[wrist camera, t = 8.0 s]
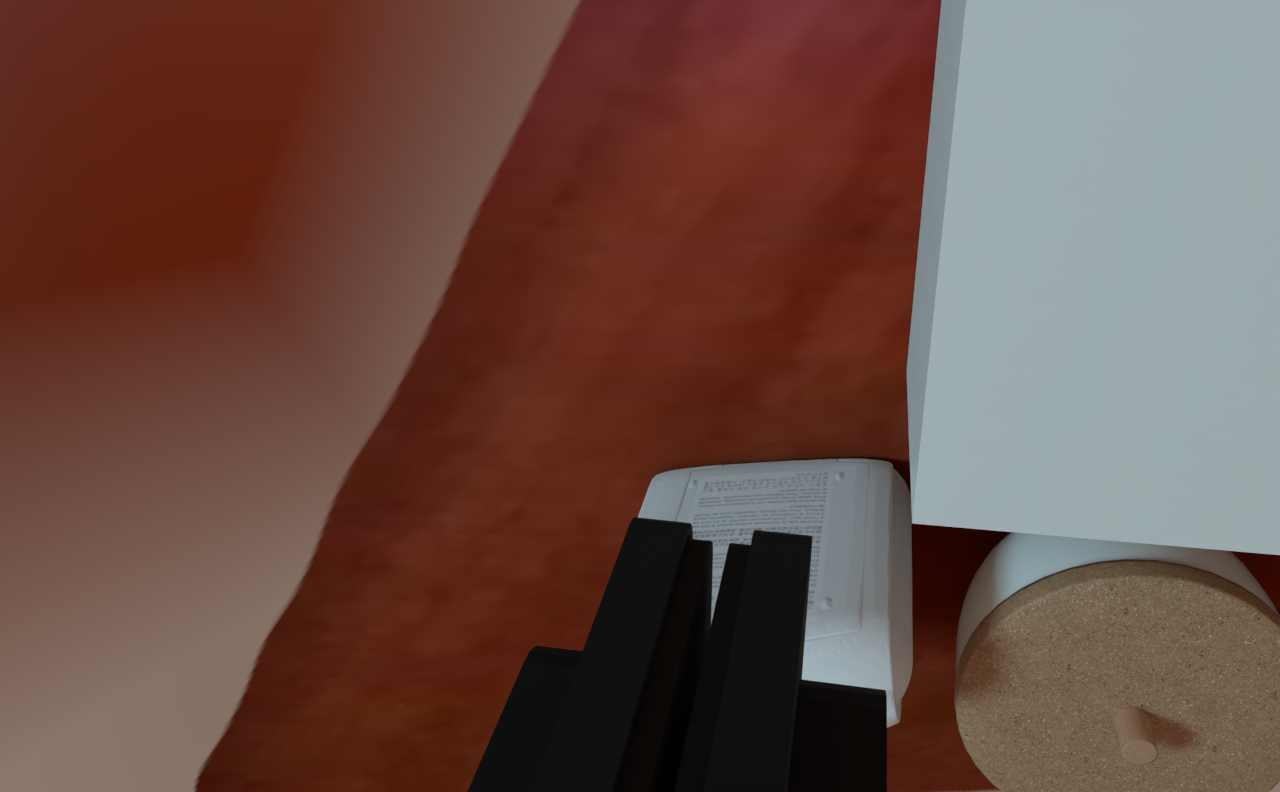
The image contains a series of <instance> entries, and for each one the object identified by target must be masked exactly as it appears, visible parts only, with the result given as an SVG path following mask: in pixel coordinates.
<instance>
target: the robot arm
mask: <svg viewBox="0 0 1280 792" xmlns="http://www.w3.org/2000/svg"><path fill="white" fill-rule="evenodd" d="M811 552H812V536H809V535H800V534H790V533H781V532H771V531H762V530H754V532H753V536H752V541H751V545H746V544H737V543H730V544H729V547H728V551H727V555H726V560H725V564H724V569H723V573H722V578H721V582H720V587H719V591H718V596H717V600H716V605H715V609H714V614H713V618H712V623H711V606H712V572H713V543H712V541H709V540H699V539H693V529H692V525H691V523H685V522H676V521H666V520H656V519H647V518H637V517H635V518H633V519H632V521H631V523H630V525H629V528H628V531H627V533H626V536H625V539H624V541H623V544H622V547H621V549H620V552H619V555H618V558H617V560H616V563H615V566H614V568H613V571H612V574H611V576H610V579H609V582H608V585H607V587H606V590H605V593H604V595H603V598H602V601H601V603H600V606H599V609H598V612H597V614H596V617H595V620H594V622H593V625H592V628H591V631H590V633H589V636H588V639H587V641H586V644H585V647H584V649H583V652H582V651H574V650H566V649H558V648H551V647H543V646H535V647H534V648H533V649H532V650H530V652H529V654H528V656H527V658H526V659H525V661H524V663H523V666H522V668H521V670H520V673H519V675H518V677H517V679H516V682H515V684H514V686H513V689H512V691H511V693H510V696H509V698H508V700H507V702H506V705H505V707H504V709H503V712H502V714H501V716H500V718H499V721H498V723H497V725H496V728H495V730H494V732H493V735H492V737H491V739H490V741H489V744H488V746H487V748H486V751H485V753H484V755H483V758H482V760H481V762H480V764H479V767H478V769H477V771H476V774H475V776H474V778H473V781H472V783H471V785H470V787H469V790H468V792H887V696H886V690H881V689H873V688H865V687H857V686H849V685H841V684H833V683H826V682H818V681H810V680H802V669H803V656H804V643H805V630H806V617H807V604H808V591H809V578H810V565H811Z"/></svg>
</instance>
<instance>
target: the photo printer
mask: <svg viewBox="0 0 1280 792" xmlns="http://www.w3.org/2000/svg"><path fill="white" fill-rule="evenodd" d="M638 518H647V519H656V520H666V521H676V522H685V523H691V525H692V529H693V539H699V540H709V541H712V543H713V572H712V606H711V623H712V618H713V614H714V609H715V605H716V600H717V596H718V591H719V587H720V582H721V578H722V573H723V569H724V564H725V560H726V555H727V551H728V547H729V544H730V543H737V544H746V545H751V541H752V536H753V532H754V530H762V531H771V532H781V533H790V534H800V535H809V536H812V552H811V565H810V578H809V591H808V604H807V617H806V630H805V643H804V656H803V669H802V680H810V681H818V682H826V683H833V684H841V685H849V686H857V687H865V688H873V689H881V690H886V696H887V727H890V726H892V725H895V724H897V723H899V722H900V716H901V698H902V697H903V695H904V693H905V691H906V689H907V687H908V684H909V681H910V677H911V673H912V666H913V632H912V520H911V496H910V492H909V489H908V487H907V484H906V482H905V481H904V479H903V478H902V477H901V475H900V474H899V473H898V472H897V471H896V470H895V469H893V464H892V463H890V462H887V461H884V460H875V459H861V458H843V459H816V460H795V461H777V462H760V463H745V464H728V465H712V466H703V467H693V468H684V469H677V470H672V471H667V472H664V473H661V474H658V475H656V476H655V477H654V478H653V479H652V481H651V483H650V486H649V488H648V491H647V494H646V496H645V499H644V502H643V505H642V507H641V510H640V513H639V516H638Z"/></svg>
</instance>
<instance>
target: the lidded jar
mask: <svg viewBox="0 0 1280 792" xmlns="http://www.w3.org/2000/svg"><path fill="white" fill-rule="evenodd" d="M955 711H956V717H957V723H958V728H959V732H960V735H961V737H962V740H963V743H964V745H965V748H966V750H967V751H968V753H969V755H970V756H971V758H972V759H973V761H974V763H975V764H976V766H977V767H978V768H979V769H980V771H981V772H982V773H983V774H984V775H985V776H986V777H987V778H988V780H989V781H990V782H991V783H992V784H994V785H995V786H996V787H997V788H998V789H1000V790H1001V791H1002V792H1269V791H1270V790H1272V789H1273V788H1274V787H1275V786H1276V785H1277V784H1278V782H1280V615H1279V613H1278V612H1277V610H1276V608H1275V606H1274V605H1273V603H1272V601H1271V599H1270V598H1269V596H1268V595H1267V593H1266V592H1265V591H1264V589H1263V588H1262V587H1261V586H1260V584H1259V583H1258V582H1257V580H1256V579H1255V578H1254V576H1253V575H1252V574H1251V572H1250V571H1249V570H1248V569H1247V567H1246V566H1245V565H1244V564H1243V563H1242V562H1241V561H1240V560H1239V559H1238V558H1237V557H1236V556H1235V555H1234V554H1233V553H1232V552H1231V551H1225V550H1214V549H1202V548H1191V547H1179V546H1167V545H1156V544H1144V543H1132V542H1121V541H1109V540H1098V539H1086V538H1074V537H1063V536H1051V535H1039V534H1028V533H1016V532H1011V533H1010V534H1008V535H1007V536H1005V537H1004V538H1003V539H1002V540H1001V541H1000V542H999V543H998V544H997V545H996V546H995V547H994V548H993V549H992V550H991V552H990V553H989V554H988V556H987V557H986V559H985V560H984V562H983V563H982V564H981V566H980V567H979V569H978V570H977V572H976V573H975V575H974V577H973V579H972V582H971V584H970V586H969V588H968V590H967V593H966V597H965V600H964V603H963V607H962V611H961V615H960V619H959V624H958V632H957V643H956V678H955Z"/></svg>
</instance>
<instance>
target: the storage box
mask: <svg viewBox="0 0 1280 792" xmlns="http://www.w3.org/2000/svg"><path fill="white" fill-rule="evenodd" d="M907 396H908V425H909V453H910V482H911V511H912V524H923V525H935V526H946V527H958V528H970V529H981V530H993V531H1005V532H1016V533H1028V534H1039V535H1051V536H1063V537H1074V538H1086V539H1098V540H1109V541H1121V542H1132V543H1144V544H1156V545H1167V546H1179V547H1191V548H1202V549H1214V550H1225V551H1237V552H1249V553H1260V554H1272V555H1280V0H942V1H941V11H940V22H939V32H938V43H937V54H936V64H935V75H934V85H933V96H932V107H931V117H930V128H929V138H928V149H927V160H926V170H925V181H924V191H923V202H922V213H921V223H920V234H919V244H918V255H917V266H916V276H915V287H914V297H913V308H912V319H911V329H910V340H909V351H908V361H907Z"/></svg>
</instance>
